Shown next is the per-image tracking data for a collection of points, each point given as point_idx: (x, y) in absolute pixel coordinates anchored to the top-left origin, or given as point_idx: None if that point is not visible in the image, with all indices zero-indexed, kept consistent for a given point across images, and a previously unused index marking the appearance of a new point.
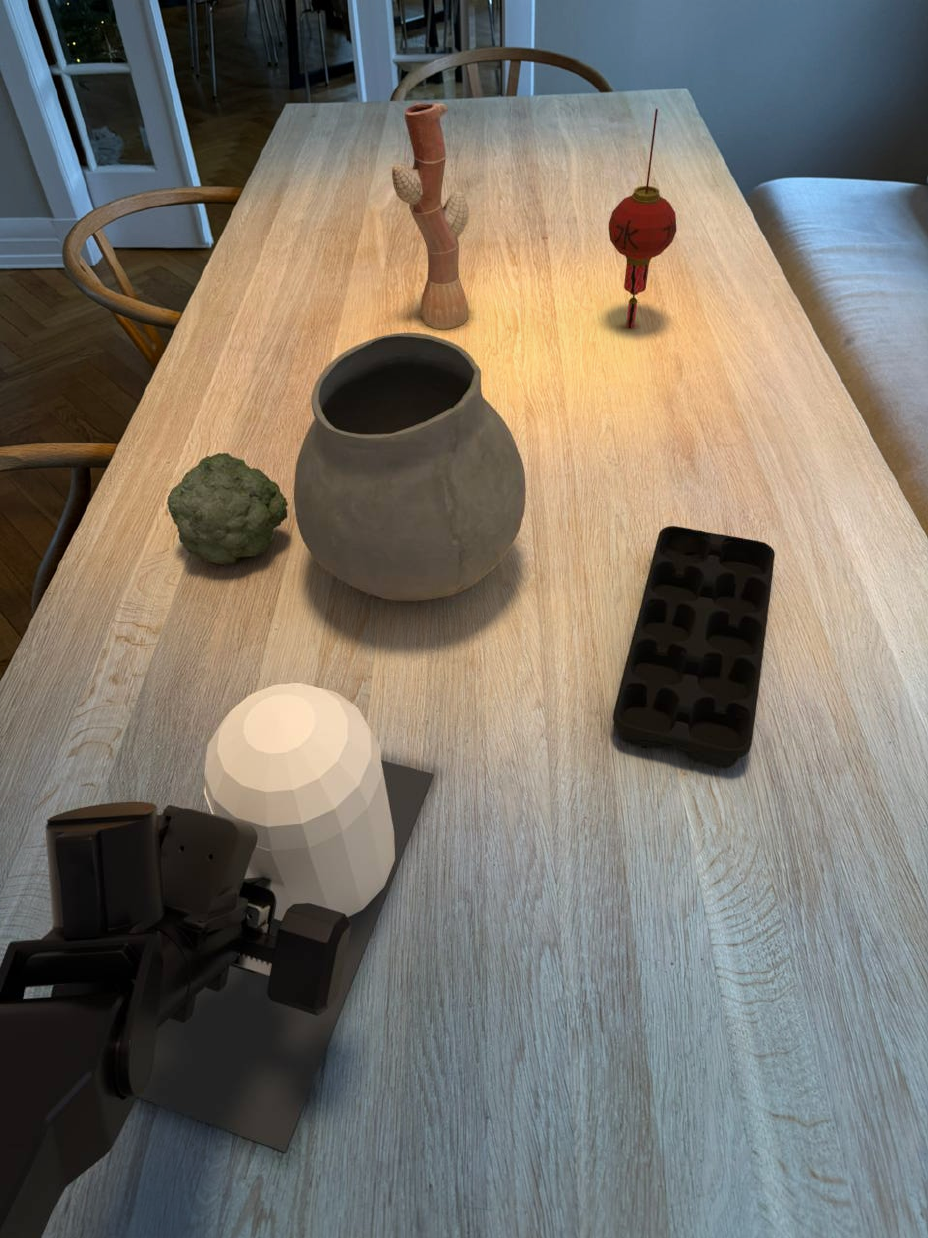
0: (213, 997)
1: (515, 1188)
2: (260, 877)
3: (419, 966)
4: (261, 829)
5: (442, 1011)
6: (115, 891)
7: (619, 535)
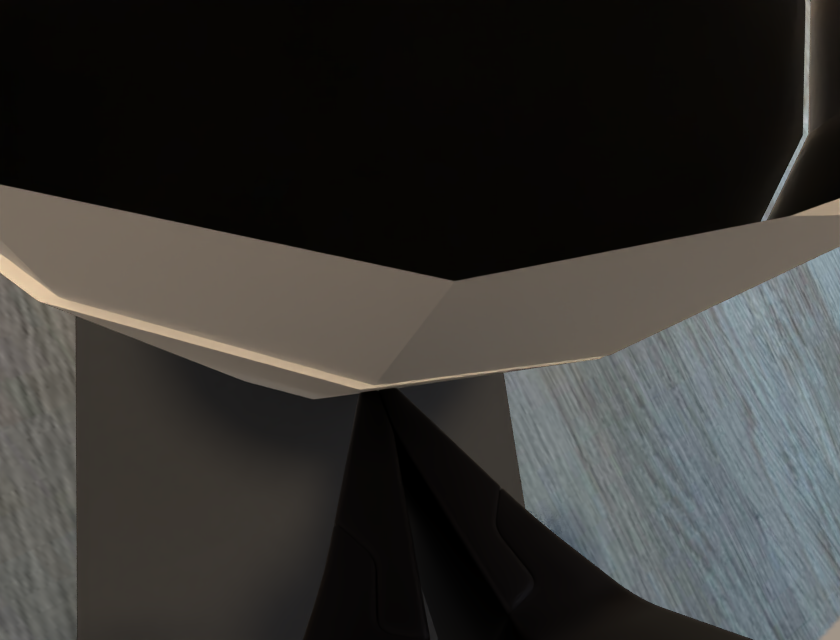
0: (282, 611)
1: (818, 577)
2: (364, 398)
3: (588, 364)
4: (764, 262)
5: (647, 413)
6: None
7: None
